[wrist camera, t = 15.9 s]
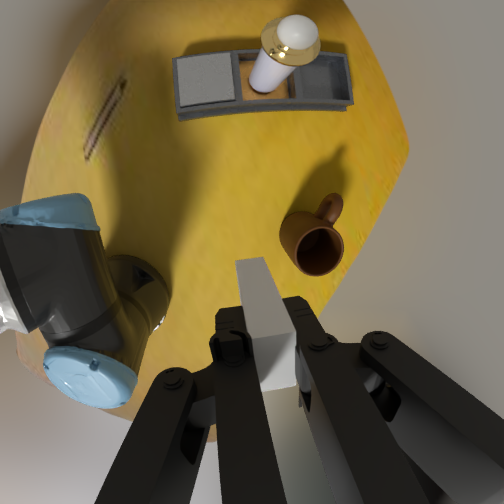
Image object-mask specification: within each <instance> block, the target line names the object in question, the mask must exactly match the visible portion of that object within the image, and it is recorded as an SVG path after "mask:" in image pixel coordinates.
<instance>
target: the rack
mask: <svg viewBox="0 0 504 504" xmlns="http://www.w3.org/2000/svg"><path fill="white" fill-rule="evenodd" d="M260 50H261V49H248V50H231V51H220V52H210V53H202V54H195V55H188V56H182V57H176V58H172V63H173V78H174V92H175V103H176V113H177V114H178V118H179V121H186V120H192V119H199V118H206V117H214V116H222V115H232V114H242V113H255V112H272V111H340V112H344V111H347V110H346V107H347V106H350V105H354V101H353V93H352V86H351V79H350V72H349V66H348V60H347V55H346V54H341V53H333V52H324V51H320V52H319V54H318V56H317V57H316V58H315V59H314V60H313V61H311V62H310V63H308V64H306V65H303V66H298V67H297V68H296V69H295V70H294V71H293V72H292V73H291V74H290V75H289V76H288V77H287V78H286V79H285V80H284V81H283V82H282V83H281V84H280V85H279V86H278V87H277V88H276V89H275V90H274V91H272V92H269V93H262V92H258V91H256V90H255V89H254V88H253V87H252V86H251V85H250V82H249V75H250V72H251V70H252V68H253V66H254V63H255V61H256V59H257V57H258V54H259V52H260Z"/></svg>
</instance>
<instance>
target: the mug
mask: <svg viewBox="0 0 504 504" xmlns="http://www.w3.org/2000/svg"><path fill="white" fill-rule="evenodd" d="M342 208H343V199H342V197H341V196H340V195H339V194H337V193H331V194H329V195H328V196H326V197H325V198H324V200H323V201H322V203H321V204H320V206H319V208H318V210H317V211H316V213H315V214H312V213H309V212H296V213H293V214H291V215H290V216H288V217H287V218H286V219H285V220H284V222H283V223H282V225H281V228H280V233H279V237H280V242H281V245H282V247H283V248H284V250H285V251H286V253H287V254H288V256H289V257H290V259H291V260H292V262H293V263H294V264H295V265H296V267H297V268H298V269H299V270H300V271H302V272H303V273H304V274H306V275H309V276H322V275H325V274H328V273H330V272H331V271H332V270H334V269H335V268H336V267H337V266H338V264H339V263H340V261H341V259H342V256H343V252H344V244H343V240H342V237H341V235H340V234H339V233H338V232H337V231H336V230H335V229H334V228H333V225H334V223H335V222H336V220H337V219H338V218H339V216H340V214H341V212H342Z"/></svg>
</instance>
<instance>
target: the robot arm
mask: <svg viewBox="0 0 504 504" xmlns="http://www.w3.org/2000/svg"><path fill="white" fill-rule="evenodd" d="M235 265H236V272H237V280H238V287H239V294H240V301H241V306H236V307H229V308H221V309H219V311H218V312H217V314H216V315H215V324H216V325H215V330H216V333H215V334H214V335H213V336H212V337H211V338H210V341H209V346H210V350H211V354H212V358H213V362H212V363H211V364H210V365H209V366H208V367H206V368H204V369H202V370H200V371H197V372H194V373H191V372H189V371H188V370H187V369H184V368H180V367H173V368H169V369H166V370H164V371H162V372H161V373H159V374H158V375H157V376H156V378H155V379H154V381H153V383H152V385H151V387H150V389H149V391H148V393H147V395H146V397H145V399H144V401H143V403H142V405H141V407H140V409H139V411H138V413H137V415H136V417H135V419H134V421H133V423H132V425H131V427H130V429H129V431H128V433H127V435H126V437H125V439H124V441H123V443H122V445H121V447H120V449H119V451H118V454H117V456H116V458H115V460H114V462H113V464H112V466H111V468H110V471H109V473H108V475H107V477H106V479H105V481H104V484H103V486H102V488H101V490H100V492H99V495H98V497H97V499H96V501H95V503H94V504H189V503H190V500H191V496H192V492H193V489H194V485H195V481H196V478H197V474H198V470H199V467H200V463H201V460H202V456H203V452H204V449H205V445H206V441H207V438H208V434H209V430H210V425H213V424H216V429H217V445H218V459H219V472H220V484H221V495H222V504H287V501H286V497H285V493H284V489H283V485H282V481H281V476H280V472H279V468H278V464H277V459H276V455H275V451H274V446H273V442H272V437H271V433H270V428H269V424H268V420H267V415H266V411H265V406H264V401H263V396H262V392H263V391H269V390H275V389H281V388H285V387H291V386H296V379H297V381H298V384H299V407H302V405H303V408H304V411H305V414H306V417H307V420H308V423H309V426H310V429H311V432H312V435H313V438H314V440H315V443H316V446H317V449H318V452H319V455H320V458H321V461H322V464H323V467H324V470H325V473H326V476H327V479H328V482H329V484H330V487H331V490H332V493H333V496H334V499H335V502H336V504H429V502H428V500H427V498H426V496H425V494H424V492H423V490H422V488H421V486H420V484H419V482H418V480H417V479H416V477H415V475H414V473H413V471H412V469H411V467H410V465H409V463H408V462H407V460H406V458H405V456H404V454H403V452H402V451H401V449H400V447H401V448H402V449H403V450H404V451H405V452H406V453H407V454H408V455H409V456H410V457H411V458H412V460H413V461H415V462H416V463H417V465H419V467H420V468H421V469H423V471H424V472H425V473H426V474H427V475H429V477H431V478H432V479H433V480H434V481H435V482H436V483H437V484H438V485H439V486H440V487H441V488H442V489H443V490H444V491H445V492H446V493H447V494H448V495H449V496H450V497H451V498H452V499H453V500H454V501H455V502H456V503H457V504H504V419H502V418H501V417H500V416H498V415H497V414H496V413H495V412H493V411H492V410H491V409H490V408H488V407H487V406H486V405H484V404H483V403H482V402H481V401H479V400H478V399H476V398H475V397H474V396H473V395H471V394H470V393H469V392H468V391H466V390H465V389H464V388H462V387H461V386H460V385H458V384H457V383H456V382H454V381H453V380H452V379H451V378H449V377H448V376H447V375H445V374H444V373H442V372H441V371H440V370H439V369H437V368H436V367H435V366H433V365H432V364H431V363H429V362H428V361H427V360H425V359H424V358H423V357H421V356H420V355H419V354H417V353H416V352H415V351H413V350H412V349H410V348H409V347H408V346H406V345H405V344H404V343H402V342H401V341H400V340H398V339H397V338H396V337H394V336H393V335H391V334H389V333H387V332H383V331H373V332H370V333H367V334H366V335H365V336H363V338H362V340H361V343H341V342H338V340H337V339H336V338H335V337H334V336H332V335H330V334H328V333H325V331H324V329H323V328H322V326H321V324H320V323H319V321H318V319H317V317H316V316H315V314H314V312H313V311H312V309H311V307H310V306H309V304H308V302H307V301H306V300H305V299H303V298H302V297H300V296H295V297H289V298H283V299H282V298H281V296H280V294H279V292H278V289H277V287H276V285H275V283H274V280H273V278H272V276H271V274H270V271H269V269H268V267H267V265H266V262H265V260H264V258H263V257H259V258H252V259H244V260H237V261H235ZM168 306H169V293H168V289H167V286H166V284H165V282H164V280H163V278H162V277H161V275H160V274H159V273H158V272H157V270H156V269H155V268H153V267H152V266H151V265H150V264H148V263H147V262H145V261H143V260H141V259H139V258H136V257H133V256H127V255H119V256H114V257H110V258H108V259H107V257H106V253H105V250H104V246H103V243H102V239H101V235H100V227H99V226H98V225H97V222H96V219H95V216H94V212H93V209H92V205H91V202H90V200H89V199H88V198H87V197H86V196H85V195H83V194H80V193H71V194H64V195H58V196H52V197H47V198H42V199H38V200H33V201H29V202H26V203H22V204H19V205H15V206H12V207H8V208H5V209H2V210H0V333H2V332H4V331H5V330H7V329H13V330H16V331H19V332H21V333H24V334H28V333H30V332H31V331H33V330H34V329H36V328H38V327H39V329H40V331H41V333H42V335H43V337H44V338H45V340H46V342H47V344H48V346H49V349H47V350H46V352H45V353H44V363H43V367H44V370H45V373H46V375H47V376H48V378H49V379H50V381H51V382H52V383H53V384H54V385H55V386H56V387H57V388H58V389H59V390H60V391H62V392H63V393H64V394H66V395H67V396H69V397H71V398H72V399H74V400H77V401H79V402H81V403H83V404H86V405H89V406H92V407H97V408H117V407H120V406H122V405H124V404H125V403H127V401H128V400H129V399H130V398H131V396H132V393H133V391H134V388H135V386H136V385H137V382H138V379H137V378H138V373H139V370H140V366H141V362H142V359H143V355H144V351H145V348H146V344H147V341H148V338H149V336H150V335H151V334H152V332H153V331H155V330H156V329H157V328H158V327H159V326H160V325H161V324H162V322H163V320H164V319H165V316H166V314H167V310H168ZM399 446H400V447H399Z"/></svg>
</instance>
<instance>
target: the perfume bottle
mask: <svg viewBox="0 0 504 504" xmlns="http://www.w3.org/2000/svg"><path fill="white" fill-rule="evenodd" d="M260 39H261V45H262V48H261V50H260V52H259V54H258V57H257V59H256V61H255V63H254V66H253V68H252V70H251V72H250V75H249V82H250V85H251V86H252V87H253V88H254V89H255V90H256V91H258V92H262V93H269V92H272V91H274V90H275V89H276V88H277V87H278V86H279V85H280V84H281V83H282V82H283V81H284V80H285V79H286V78H287V77H288V76H289V75H290V74H291V73H292V72H293V71H294V70H295V69H296V68H297V67H298V66H303V65H306V64H308V63H310V62H311V61H313V60H314V59H315V58H316V57H317V56H318V54H319V52H320V47H321V45H320V39H319V37H318V29H317V26H316V24H315V23H314V22H313V21H312V20H311V19H309V18H308V17H306V16H303V15H289V16H287V17H281V18H276V19H274V20H272V21H270V22H269V23H267V24H266V26H265V27H264V29H263V30H262V33H261V37H260Z"/></svg>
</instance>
